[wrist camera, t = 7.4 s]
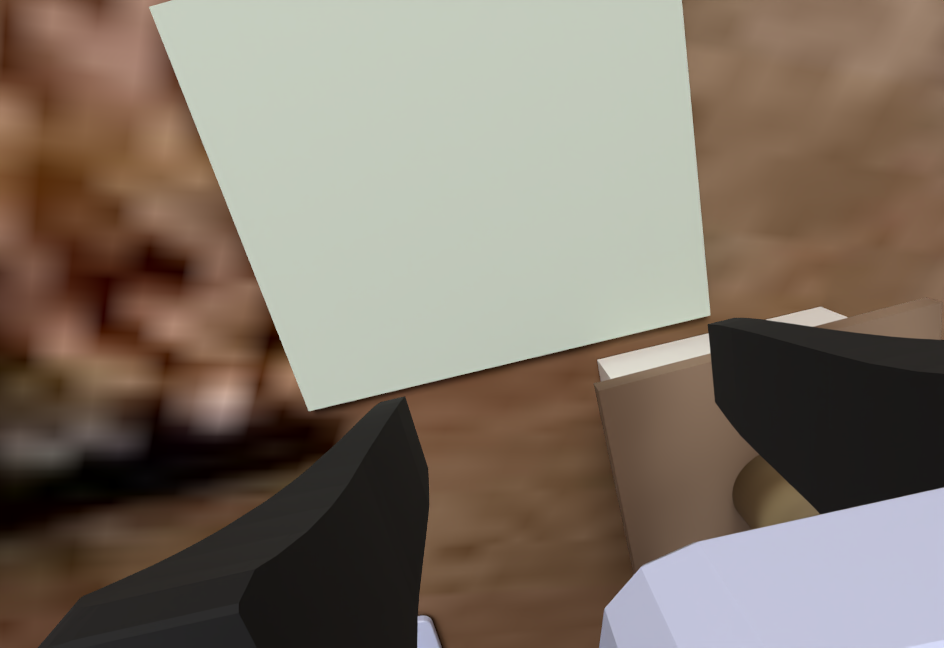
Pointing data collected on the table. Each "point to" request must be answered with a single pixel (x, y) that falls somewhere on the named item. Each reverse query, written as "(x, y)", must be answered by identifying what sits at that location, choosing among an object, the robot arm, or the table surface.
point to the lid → (707, 448)
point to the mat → (448, 176)
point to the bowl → (693, 347)
